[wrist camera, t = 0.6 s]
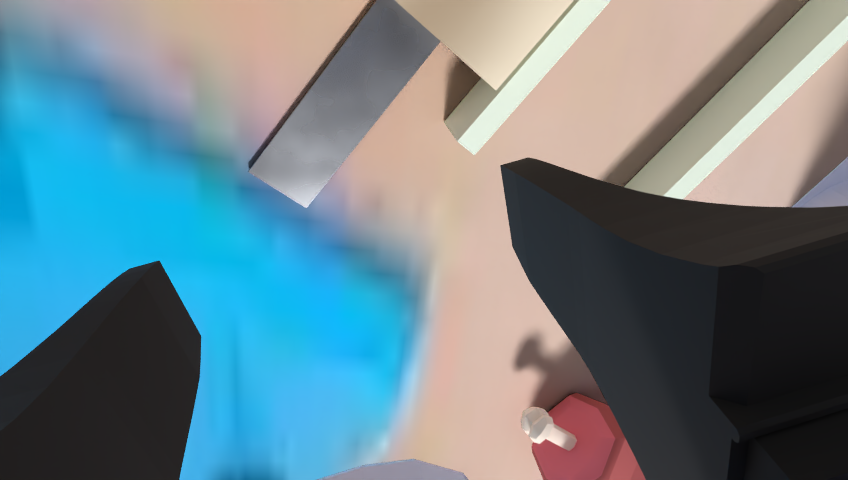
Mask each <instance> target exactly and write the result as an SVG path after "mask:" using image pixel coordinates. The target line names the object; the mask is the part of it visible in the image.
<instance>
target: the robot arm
mask: <svg viewBox="0 0 848 480" xmlns="http://www.w3.org/2000/svg"><path fill="white" fill-rule="evenodd" d="M500 166H501V173H502V179H503V186H504V193H505V199H506V206H507V213H508V219H509V226H510V232H511V239H512V246H513V248H514V250H515V253H516V255H517V257H518V259H519V261H520V263H521V265H522V267H523V269H524V271H525V273H526V275H527V277H528V279H529V281H530V283H531V284H532V286H533V287H534V289H535V290H536V292H537V293H538V295H539V296H540V298H541V299H542V300H543V302H544V303H545V305H546V306H547V308H548V309H549V311H550V312H551V314H552V315H553V316H554V318H555V319H556V321H557V322H558V324H559V325H560V326H561V328H562V329H563V331H564V332H565V334H566V335H567V337H568V338H569V339H570V341H571V342H572V344H573V345H574V347H575V348H576V350H577V351H578V352H579V354H580V355H581V357H582V359H583V360H584V362H585V363H586V365H587V367H588V368H589V370H590V372H591V373H592V375H593V377H594V379H595V381H596V383H597V385H598V387H599V388H600V390H601V392H602V394H603V396H604V398H605V400H606V401H607V403H608V405H609V407H610V409H611V411H612V413H613V415H614V417H615V419H616V421H617V423H618V425H619V427H620V429H621V431H622V433H623V434H624V436H625V438H626V440H627V442H628V444H629V446H630V448H631V450H632V452H633V454H634V456H635V458H636V460H637V462H638V465H639V467H640V469H641V471H642V473H643V475H644V477H645V479H646V480H848V157H847V158H846V159H845V160H843V161H842V162H841V163H840V164H839V165H838V166H837V167H836V168H835V169H833V170H832V171H831V172H830V173H829V174H828V175H827V176H826V177H825V178H823V179H822V180H821V181H820V182H819V183H818V184H817V185H816V186H814V187H813V188H812V189H811V190H810V191H809V192H808V193H807V194H806V195H804V196H803V197H802V198H801V199H800V200H799V201H798V202H797V203H796V204H794V205H793V206H792V207H756V206H738V205H727V204H716V203H705V202H697V201H689V200H683V199H677V198H672V197H666V196H660V195H655V194H650V193H645V192H641V191H637V190H633V189H629V188H625V187H621V186H618V185H614V184H610V183H607V182H604V181H600V180H597V179H594V178H591V177H588V176H585V175H582V174H579V173H576V172H573V171H570V170H567V169H564V168H561V167H558V166H555V165H552V164H549V163H546V162H543V161H540V160H537V159H533V158H525V159H522V160H518V161H514V162H511V163H507V164H504V165H500ZM200 360H201V335H200V333H199V332H198V330H197V328H196V326H195V324H194V322H193V321H192V319H191V317H190V315H189V313H188V312H187V310H186V308H185V306H184V304H183V303H182V301H181V299H180V297H179V295H178V293H177V292H176V290H175V288H174V286H173V284H172V283H171V281H170V279H169V277H168V275H167V273H166V272H165V270H164V268H163V266H162V264H161V263H160V261H156V262H152V263H148V264H145V265H141V266H138V267H134V268H131V269H128V270H127V271H125V272H124V273H122V274H121V275H120V276H118V277H117V278H116V279H114V280H113V281H112V282H111V283H109V284H108V285H107V286H106V287H105V288H104V289H102V290H101V291H100V292H99V293H98V294H97V295H96V296H94V297H93V298H92V299H91V300H90V301H89V302H88V303H87V304H85V305H84V306H83V307H82V308H81V309H80V310H79V311H78V312H76V313H75V314H74V315H73V316H72V317H71V318H70V319H69V320H67V321H66V322H65V323H64V324H63V325H62V326H61V327H60V328H58V329H57V330H56V331H55V332H54V333H53V334H51V335H50V336H49V337H48V338H47V339H45V340H44V341H43V342H42V343H41V344H40V345H38V346H37V347H36V348H35V349H34V350H32V351H31V352H30V353H29V354H28V355H26V356H25V357H24V358H23V359H22V360H20V361H19V362H18V363H17V364H16V365H14V366H13V367H12V368H11V369H9V370H8V371H7V372H6V373H4V374H3V375H2V376H0V480H179V477H180V472H181V467H182V462H183V457H184V453H185V448H186V443H187V438H188V433H189V428H190V424H191V419H192V414H193V409H194V404H195V399H196V394H197V389H198V383H199V378H200ZM317 480H468V479H467V477H466V476H465V475H464V473H462V472H458V471H455V470H451V469H448V468H444V467H441V466H437V465H433V464H430V463H426V462H423V461H419V460H416V459H409V460H401V461H393V462H385V463H377V464H369V465H363V466H360V467H356V468H353V469H350V470H346V471H343V472H340V473H337V474H333V475H330V476H327V477H324V478H320V479H317Z"/></svg>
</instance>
